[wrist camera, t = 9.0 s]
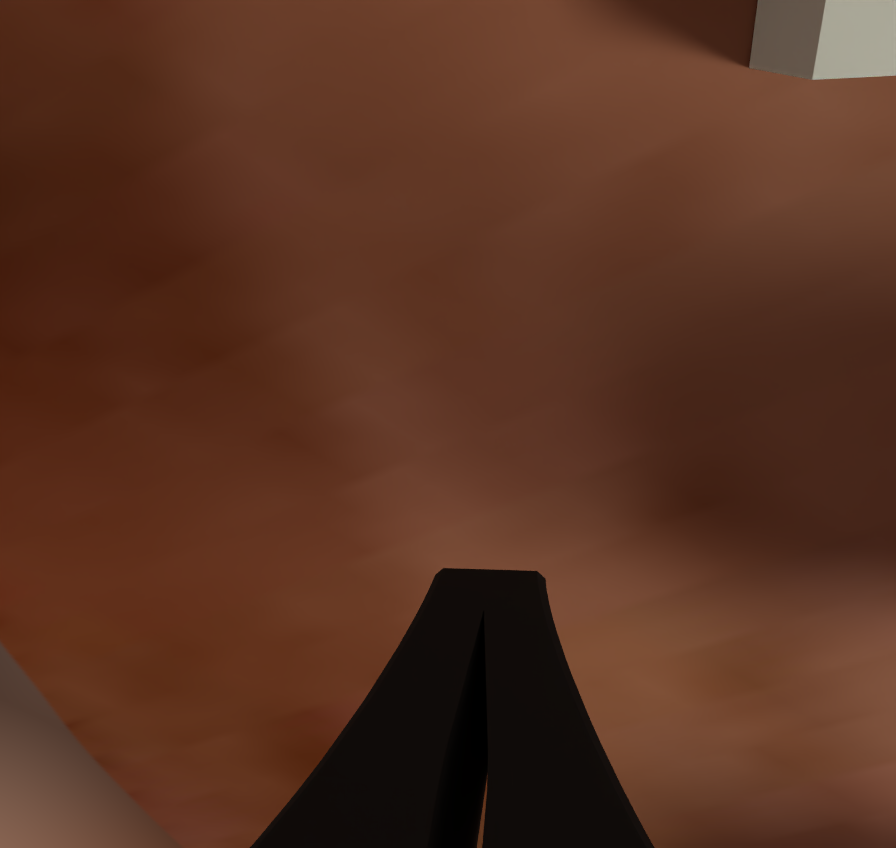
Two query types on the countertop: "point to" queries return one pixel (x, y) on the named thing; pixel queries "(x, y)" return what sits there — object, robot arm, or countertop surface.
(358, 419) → the countertop surface
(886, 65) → the socket block
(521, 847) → the robot arm
